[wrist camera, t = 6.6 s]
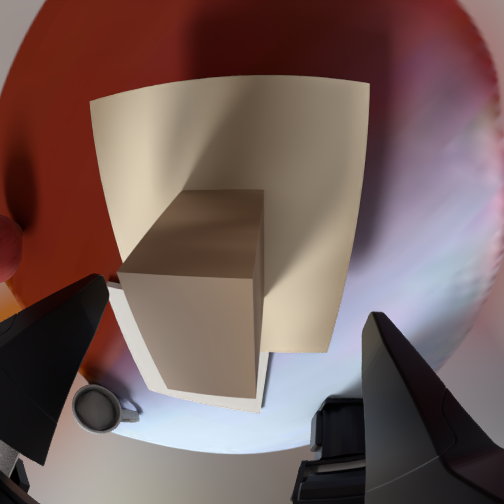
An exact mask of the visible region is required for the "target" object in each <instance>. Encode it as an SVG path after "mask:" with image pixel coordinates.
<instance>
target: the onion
mask: <svg viewBox="0 0 504 504" xmlns="http://www.w3.org/2000/svg"><path fill="white" fill-rule="evenodd" d="M22 236H23V230H22V228H21V226H20V225H19V224H17V223H16V222H14V221H13V220H11V219H10V218H8V217H6V216H3V215H0V283H1V282H4V281H6V280H8V279H9V278H11V277H12V275H13V274H14V273H15V271H16V270H17V268H18V266H19V263H20V261H21V256H22Z"/></svg>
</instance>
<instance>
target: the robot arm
mask: <svg viewBox="0 0 504 504" xmlns="http://www.w3.org/2000/svg"><path fill="white" fill-rule="evenodd" d="M109 296H110V294H109V290H108V287H107V284H106V281H105V278H104V276H103V275H100V274H95V273H94V274H91V275H89V276H87V277H85V278H83V279H81V280H79V281H77V282H75V283H73V284H71V285H69V286H67V287H65V288H63V289H61V290H59V291H57V292H55V293H53V294H52V295H50V296H48V297H46V298H44V299H42V300H40V301H38V302H37V303H35V304H33V305H31V306H29V307H27V308H26V309H24V310H22V311H20V312H19V313H18V314H15V315H13V316H11V317H10V318H8V319H6V320H4V321H2V322H0V504H40V503H38V502H37V501H36V500H34V499H33V498H32V497H31V496H29V495H28V494H27V493H28V490H29V487H30V485H29V482H28V478H27V475H26V472H25V468H24V464H23V461H22V460H21V459H20V458H19V455H20V453H21V454H22V455H24V456H26V457H27V458H29V459H30V460H32V461H34V462H36V463H37V464H39V465H41V466H44V464H45V461H46V457H47V454H48V450H49V447H50V444H51V441H52V438H53V435H54V432H55V429H56V426H57V422H58V420H59V417H60V414H61V412H62V409H63V406H64V404H65V401H66V399H67V396H68V394H69V391H70V388H71V386H72V384H73V381H74V379H75V377H76V374H77V372H78V370H79V368H80V365H81V363H82V361H83V359H84V356H85V354H86V352H87V350H88V348H89V346H90V344H91V342H92V340H93V337H94V335H95V333H96V331H97V328H98V325H99V323H100V320H101V318H102V315H103V313H104V310H105V308H106V305H107V303H108V300H109ZM362 389H363V399H326V400H325V401H324V403H323V404H322V406H321V408H320V410H318V411H317V412H316V413H315V415H314V417H313V419H312V422H311V440H310V450H311V452H315V460H314V461H308V460H304V461H302V463H301V465H300V467H299V471H298V475H297V479H296V483H295V487H294V491H293V493H292V495H291V501H292V502H293V504H504V449H503V448H501V447H499V446H498V445H496V444H495V443H494V442H493V441H492V440H491V439H490V438H489V437H488V435H487V434H486V433H485V432H484V431H483V430H482V429H481V428H480V426H479V425H478V424H477V423H476V422H475V421H474V420H473V419H472V418H471V416H470V415H469V414H468V413H467V412H466V411H465V410H464V408H463V407H462V406H461V405H460V404H459V402H458V401H457V400H456V399H455V397H454V396H453V395H452V393H451V392H450V391H449V390H448V389H447V388H446V386H445V385H444V383H443V382H442V381H441V380H440V378H439V377H438V376H437V375H436V373H435V372H434V371H433V370H432V368H431V367H430V366H429V365H428V364H427V362H426V361H425V360H424V359H423V357H422V356H421V355H420V354H419V353H418V351H417V350H416V349H415V348H414V347H413V346H412V344H411V343H410V342H409V341H408V340H407V339H406V337H405V336H404V335H403V334H402V333H401V332H400V330H399V329H398V328H397V327H396V326H395V325H394V324H393V322H392V321H391V320H390V319H389V318H388V317H387V316H386V315H385V314H384V313H383V312H374V311H373V312H371V313H370V314H369V316H368V319H367V321H366V323H365V326H364V328H363V331H362Z"/></svg>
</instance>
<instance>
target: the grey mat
mask: <svg viewBox="0 0 504 504" xmlns="http://www.w3.org/2000/svg"><path fill="white" fill-rule="evenodd" d="M107 287H108V290H109V294H110V296H109V300H110V303H111V306H112V308H113V311H114V313H115V316H116V319H117V321H118V324H119V326H120V329H121V331H122V333H123V336H124V338H125V340H126V343H127V345H128V347H129V349H130V352H131V354H132V356H133V358H134V360H135V362H136V365H137V367H138V369H139V371H140V373H141V375H142V377H143V379H144V381H145V383H146V385H147V387H148V388H149V390H151V391H154V392H158V393H161V394H165V395H169V396H173V397H176V398H180V399H184V400H189V401H193V402H197V403H202V404H207V405H212V406H217V407H222V408H228V409H233V410H240V411H246V412H253V413H260V410H261V403H262V397H263V390H264V384H265V377H266V370H267V363H268V356H269V352H260V357H259V369H258V380H257V392H256V399H248V398H234V397H223V396H214V395H205V394H197V393H190V392H183V391H177V390H171V389H167V387H166V385H165V383H164V381H163V379H162V377H161V375H160V373H159V371H158V369H157V367H156V365H155V363H154V361H153V359H152V357H151V355H150V353H149V351H148V349H147V346H146V344H145V342H144V340H143V338H142V335H141V333H140V331H139V329H138V326H137V324H136V322H135V319H134V317H133V314H132V312H131V309H130V307H129V304H128V302H127V299H126V297H125V294H124V291H123V289H122V286H121V284H119V283H114V282H109V281H108V282H107Z"/></svg>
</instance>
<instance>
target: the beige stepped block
mask: <svg viewBox="0 0 504 504" xmlns="http://www.w3.org/2000/svg"><path fill="white" fill-rule="evenodd" d="M369 94H370V84H369V83H363V82H357V81H349V80H341V79H333V78H322V77H309V76H288V75H249V76H228V77H215V78H204V79H195V80H187V81H180V82H173V83H167V84H161V85H155V86H150V87H145V88H140V89H135V90H131V91H127V92H122V93H118V94H115V95H111V96H107V97H103V98H100V99H96V100H93V101H90V109H91V118H92V126H93V134H94V141H95V147H96V153H97V159H98V165H99V170H100V175H101V180H102V185H103V190H104V194H105V199H106V203H107V207H108V211H109V215H110V219H111V223H112V227H113V231H114V234H115V238H116V241H117V245H118V248H119V252H120V255H121V258H122V261H123V264H122V265H121V267H120V268H119V269H118V271H117V275H118V278H119V280H120V283H121V286H122V289H123V291H124V294H125V297H126V299H127V302H128V304H129V307H130V309H131V312H132V314H133V317H134V319H135V322H136V324H137V326H138V329H139V331H140V333H141V335H142V338H143V340H144V342H145V344H146V346H147V349H148V351H149V353H150V355H151V357H152V359H153V361H154V363H155V365H156V367H157V369H158V371H159V373H160V375H161V377H162V379H163V381H164V383H165V385H166V387H167V389H171V390H177V391H183V392H190V393H197V394H205V395H214V396H223V397H234V398H248V399H256V392H257V380H258V369H259V357H260V352H284V353H326V352H327V351H328V348H329V344H330V341H331V337H332V334H333V330H334V326H335V323H336V319H337V315H338V311H339V307H340V303H341V299H342V294H343V290H344V286H345V281H346V277H347V272H348V267H349V262H350V257H351V252H352V247H353V242H354V236H355V230H356V224H357V218H358V212H359V205H360V198H361V191H362V183H363V175H364V166H365V156H366V145H367V133H368V117H369Z"/></svg>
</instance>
